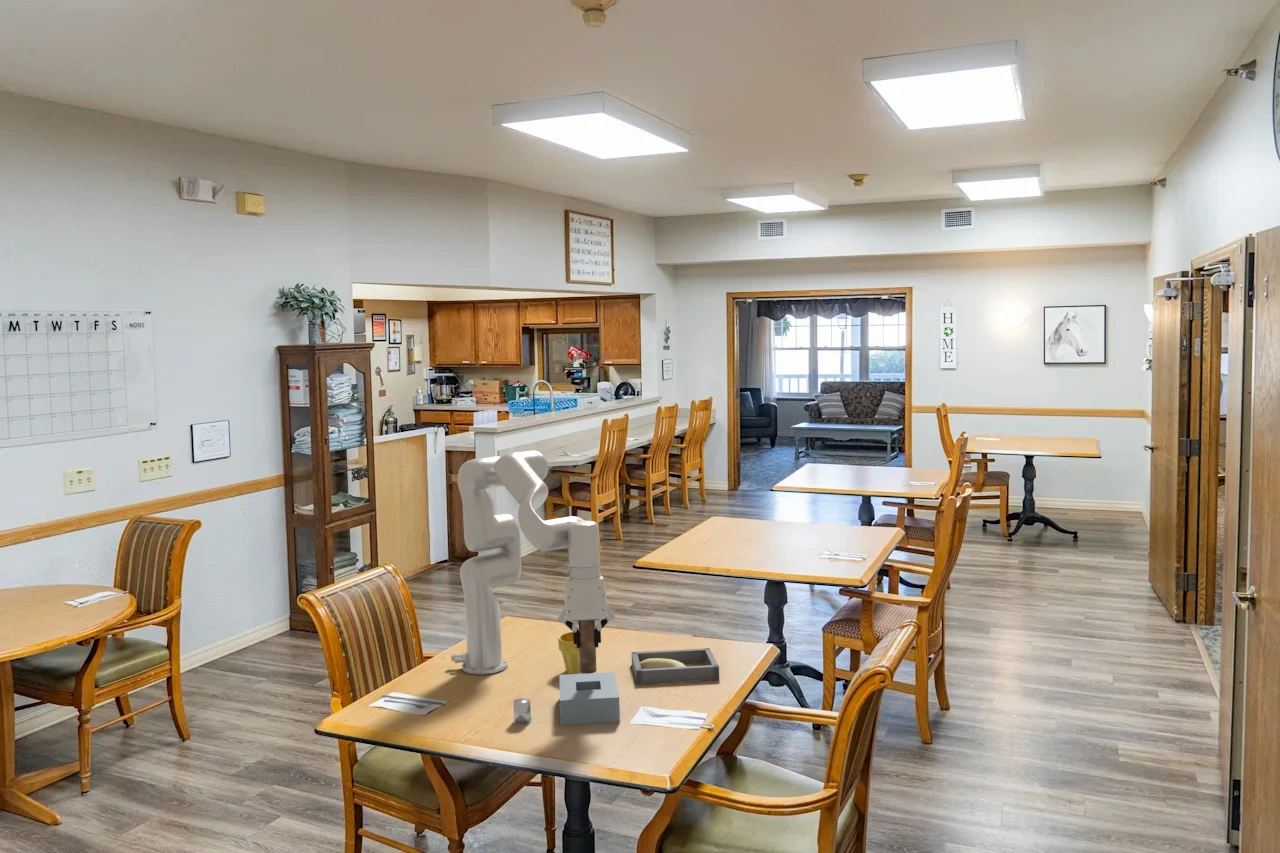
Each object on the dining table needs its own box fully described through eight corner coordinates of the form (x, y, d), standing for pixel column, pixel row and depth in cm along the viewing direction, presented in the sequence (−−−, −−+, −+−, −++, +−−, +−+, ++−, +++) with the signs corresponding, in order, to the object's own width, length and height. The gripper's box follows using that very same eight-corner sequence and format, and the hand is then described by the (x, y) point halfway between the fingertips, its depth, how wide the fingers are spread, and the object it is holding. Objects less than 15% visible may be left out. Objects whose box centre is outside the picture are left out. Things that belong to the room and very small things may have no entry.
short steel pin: (513, 725, 224) (513, 704, 224) (514, 718, 228) (513, 698, 228) (530, 724, 224) (530, 703, 224) (531, 717, 228) (530, 697, 228)
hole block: (560, 725, 223) (559, 700, 223) (560, 698, 241) (559, 674, 240) (619, 722, 224) (619, 697, 224) (615, 694, 242) (614, 671, 242)
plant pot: (583, 679, 254) (582, 643, 253) (552, 674, 259) (550, 639, 259) (604, 668, 263) (603, 633, 262) (573, 662, 268) (572, 628, 268)
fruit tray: (636, 684, 250) (636, 671, 249) (631, 664, 265) (631, 652, 265) (719, 679, 251) (719, 666, 251) (709, 660, 267) (709, 648, 267)
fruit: (654, 664, 266) (654, 653, 266) (696, 675, 256) (696, 663, 256) (637, 671, 261) (637, 659, 261) (679, 683, 251) (679, 670, 251)
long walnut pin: (580, 674, 229) (578, 613, 228) (579, 668, 233) (577, 608, 232) (596, 673, 230) (594, 612, 229) (596, 667, 234) (594, 607, 233)
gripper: (550, 577, 225) (552, 653, 227) (620, 574, 227) (622, 649, 228) (550, 570, 233) (553, 643, 234) (618, 567, 234) (620, 639, 236)
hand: (587, 645), depth 231 cm, fingers closed on long walnut pin, 4 cm apart
